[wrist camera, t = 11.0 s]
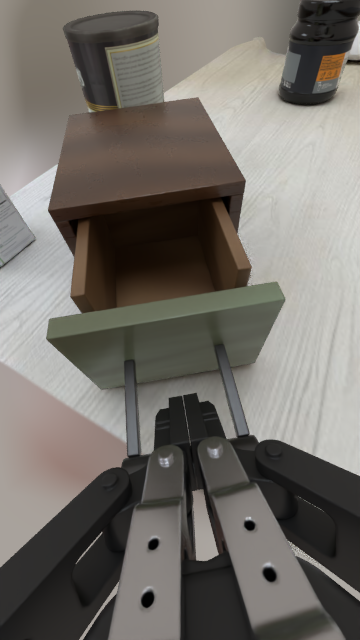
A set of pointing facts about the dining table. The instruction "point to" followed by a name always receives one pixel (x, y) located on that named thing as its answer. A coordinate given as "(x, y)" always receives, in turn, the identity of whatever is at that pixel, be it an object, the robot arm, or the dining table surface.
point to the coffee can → (117, 59)
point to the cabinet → (141, 163)
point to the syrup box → (11, 230)
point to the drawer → (164, 306)
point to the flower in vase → (355, 47)
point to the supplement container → (318, 50)
